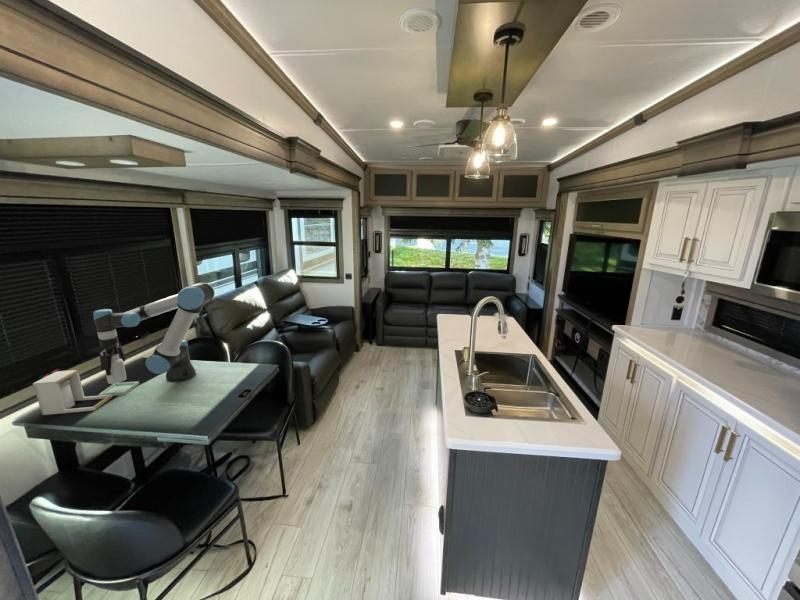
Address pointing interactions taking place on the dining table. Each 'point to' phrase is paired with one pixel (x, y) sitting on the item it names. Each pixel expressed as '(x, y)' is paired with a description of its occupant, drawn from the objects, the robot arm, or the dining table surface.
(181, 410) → the dining table surface
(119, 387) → the tray
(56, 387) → the dispenser
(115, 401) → the dining table surface
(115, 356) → the pill bottle
